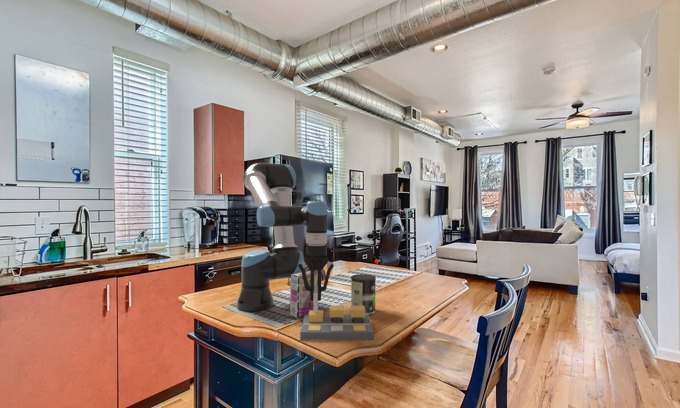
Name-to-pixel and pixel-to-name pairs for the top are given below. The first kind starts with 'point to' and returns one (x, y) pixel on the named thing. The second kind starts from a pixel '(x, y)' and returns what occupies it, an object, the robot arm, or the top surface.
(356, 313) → the button
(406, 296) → the top surface
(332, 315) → the button
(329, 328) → the board
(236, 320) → the top surface
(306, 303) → the candy bar box
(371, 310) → the coffee can
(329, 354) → the top surface
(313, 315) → the button
